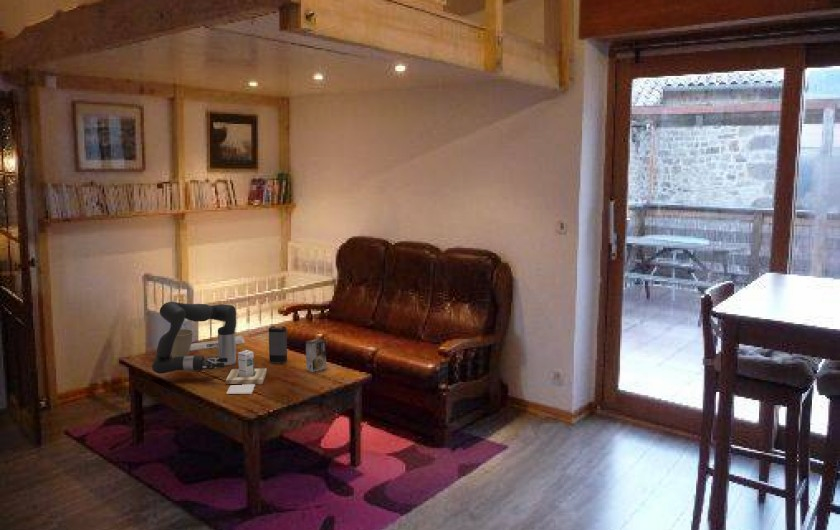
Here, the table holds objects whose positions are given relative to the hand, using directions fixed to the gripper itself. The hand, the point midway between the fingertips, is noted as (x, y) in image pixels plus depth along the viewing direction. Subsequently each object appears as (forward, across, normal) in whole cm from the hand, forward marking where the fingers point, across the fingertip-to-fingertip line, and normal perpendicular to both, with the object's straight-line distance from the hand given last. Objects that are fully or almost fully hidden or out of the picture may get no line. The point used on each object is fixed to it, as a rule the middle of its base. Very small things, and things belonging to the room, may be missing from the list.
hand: (225, 362), depth 343 cm
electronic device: (+23, +28, +9) cm, 38 cm away
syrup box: (+10, 0, +9) cm, 14 cm away
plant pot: (-33, +37, +9) cm, 50 cm away
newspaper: (-19, +65, +10) cm, 68 cm away
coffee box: (+45, +13, +9) cm, 48 cm away
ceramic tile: (+10, -18, +9) cm, 23 cm away
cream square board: (+10, 0, +9) cm, 14 cm away
